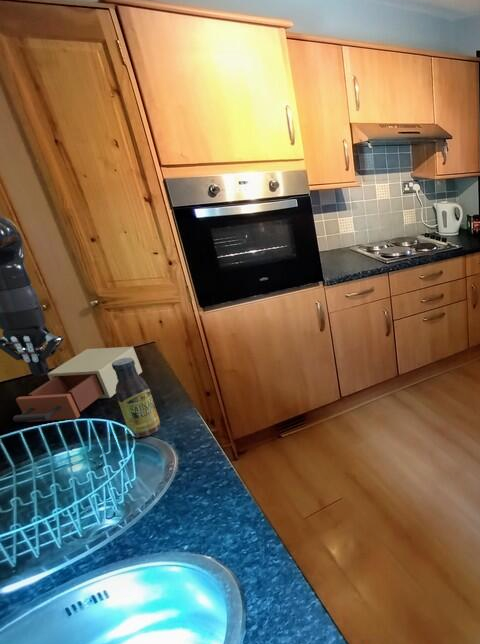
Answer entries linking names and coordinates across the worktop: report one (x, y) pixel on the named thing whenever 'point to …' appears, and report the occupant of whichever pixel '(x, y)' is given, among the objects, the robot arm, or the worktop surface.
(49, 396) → the reddish brown drawer
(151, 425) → the sauce bottle
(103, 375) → the drawer cabinet
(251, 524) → the worktop surface
